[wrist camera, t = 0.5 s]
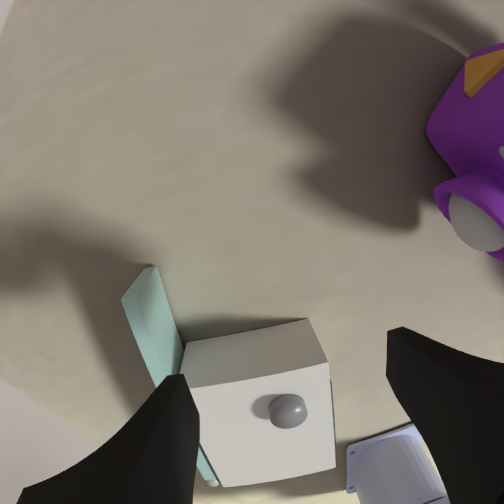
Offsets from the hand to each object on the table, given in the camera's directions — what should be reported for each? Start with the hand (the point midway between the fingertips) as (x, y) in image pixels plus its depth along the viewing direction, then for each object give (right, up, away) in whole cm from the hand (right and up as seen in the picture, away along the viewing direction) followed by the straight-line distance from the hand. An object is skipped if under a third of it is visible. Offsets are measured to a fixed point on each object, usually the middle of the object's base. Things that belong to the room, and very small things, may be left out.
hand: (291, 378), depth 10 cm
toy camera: (+14, +11, +8) cm, 20 cm away
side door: (-6, -4, +10) cm, 13 cm away
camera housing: (-1, -5, +11) cm, 13 cm away
